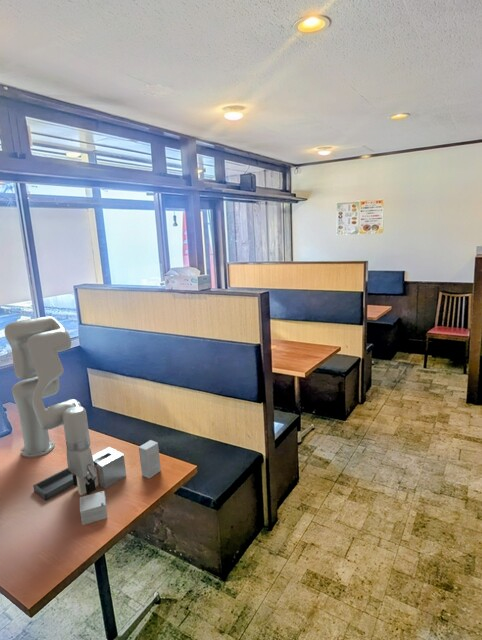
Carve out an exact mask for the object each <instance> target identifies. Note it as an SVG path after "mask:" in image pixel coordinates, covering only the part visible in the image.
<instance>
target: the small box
mask: <svg viewBox="0 0 482 640" xmlns="http://www.w3.org/2000/svg"><path fill="white" fill-rule="evenodd" d="M107 509H108V507H107V499H106V493H105V490H102V491H97V492H95V493H92V494H91V493H90V494H86V495H84V496H83V495H82V496H80V497H79V513H80V519H81V525H82V526H85V525H88V524H91V523H94V522H98V521H101V520H104V519H108V510H107Z"/></svg>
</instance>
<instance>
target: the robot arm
mask: <svg viewBox="0 0 482 640" xmlns="http://www.w3.org/2000/svg"><path fill="white" fill-rule="evenodd" d="M4 336H5V339H6V340H7V343H8V344H9V345H10V348H11V354H12V364H13V371H14V375H15V377H16V378H17V379H19V380H20V381H17V382H16V383H14V385H13V386H12V388H11V394H12V396H13V400H14V402H15V405H16V409H17V412H18V418H19V422H20V429H21V433H22V440H23V444H24V446H23V448H22V449H21V456H22V457H23V458H24V457H25V458H30V459H31V458H38V457H41V456H44V455H46V454H48V453H50V452H51V451H52V450H53V449H54V448H55V442H54V440H51V439H50V433H49V430H53V429H55V428H59V427H60V426H63V433H64V438H65V446H66V462H67V468H68V470H69V471H70V472H71V473H72V475H73V482H74V485H73V486H74V487H77V486H78V485H77V478H76V476H78V477H79V478H82V479H83V478H84V479H85V481H86V484H85V486H86V493H85V494H86V495H91V493H93V492H94V491H96V490H97V489H96V488H97V487H95V479H96V477H97V475H96V473H95V471H94V462H93V457H92V456H93V454H92V453H93V452H92V449H91V438H90V431H89V423H88V416H87V410H86V408H85V407H83V406H82V404H81V402H80V401H78V400H77V399H75V398H70V399H68V400H65V401H62V402H58V403H56V404H52V405H49V406H47V407H46V406H45V403H44V399H45V398H48V397H51V396H54V395H56V394H58V392H59V391H60V377H61V376H62V375H63V374H64V371H65V370H64V369H65V368H64V367H63V363H62V362H61V359H60V357H59V354H58V353H60V352H65V351H68V350H70V349H71V347H72V338H71V336H70V334H69V332H68V331H67V329H66V328H65V327H64V326H63V325H62V323H60V322H59V321H58V320H57V319H56V318H55V317H53V316H50V315H49V316H41V317H35V318H30V319H29V318H27V319H22V320H18V321H13V322H10V323H8V324H5V327H4ZM87 472H89V473H88V474H87ZM89 475H90V476H91V478H90V479H89V480H88V478H87V476H89Z"/></svg>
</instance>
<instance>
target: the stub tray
mask: <svg viewBox="0 0 482 640" xmlns="http://www.w3.org/2000/svg"><path fill="white" fill-rule="evenodd" d="M73 486H75V485H74V482H73V475H72V473H71V472H70V471H69V470H68V467H66V468H64V469H62V470H60V471H58V472H57V473H54V474H52V475H50V476H49V477H47V478H44V479H43V480H41V481H38V482H37V483H35V484H33V492H34V493H36V494H37V495H38V496H39V497H41V499H43V500H44V501H48V500H50V499H52V498H53V497H55V496H57V495H59V494H60V493H62V492H64V491H66V490H68V489H70V488H71V487H73Z"/></svg>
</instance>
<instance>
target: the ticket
mask: <svg viewBox="0 0 482 640" xmlns="http://www.w3.org/2000/svg"><path fill="white" fill-rule="evenodd" d="M94 471H95V473H96V475H97V477H96V479H95V488H97V487H98V486H100V483H99V475H98V468H97V465H96V466H94ZM88 473H89V472H87V474H88ZM76 478H77V485H76V486H77V489H78V490H77V491H78V495H80V496H83V495H84V494H87V493H86V486H85V484H86V481H85V479H84V478H83V479H82V478H79V477H78V476H76ZM87 478H88V480H89V479H90V478H91V476H90V475H89V476H87Z"/></svg>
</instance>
